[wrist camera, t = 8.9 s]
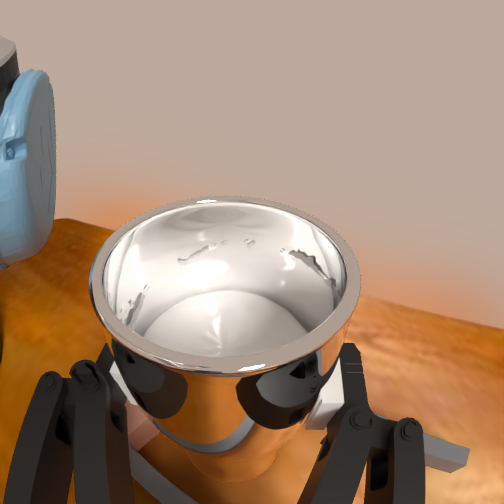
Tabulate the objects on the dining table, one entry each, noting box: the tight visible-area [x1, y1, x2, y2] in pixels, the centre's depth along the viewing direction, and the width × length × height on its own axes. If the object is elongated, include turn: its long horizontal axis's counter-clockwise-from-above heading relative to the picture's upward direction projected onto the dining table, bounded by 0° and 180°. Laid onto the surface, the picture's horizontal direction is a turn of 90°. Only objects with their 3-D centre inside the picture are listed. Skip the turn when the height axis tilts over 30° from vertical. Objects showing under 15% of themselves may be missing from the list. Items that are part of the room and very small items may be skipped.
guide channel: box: [125, 399, 470, 504], centre depth 12 cm, size 23×13×3 cm, turn 54°
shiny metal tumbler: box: [89, 196, 361, 482], centre depth 11 cm, size 7×7×15 cm
